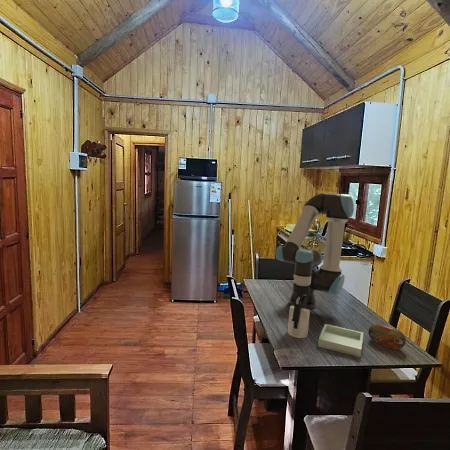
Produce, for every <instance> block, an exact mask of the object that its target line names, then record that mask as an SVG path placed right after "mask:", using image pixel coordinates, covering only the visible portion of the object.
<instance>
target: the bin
mask: <svg viewBox="0 0 450 450" xmlns="http://www.w3.org/2000/svg"><path fill="white" fill-rule="evenodd" d="M363 338H364V332H363V331H358V330H353V329H349V328H344V327H341V326H340V327H339V326H336V325H331V324H327V323H324V326H322V330H321V332H320V334H319V337H318V340H317V341H318V343H317V347H318V348H319V347H320V348H322V349H327V350H330V351H334V352H338V353H341V354H346V355H350V356H353V357H357V358H361V356H362V349H363V341H364V339H363Z"/></svg>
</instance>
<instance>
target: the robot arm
mask: <svg viewBox="0 0 450 450" xmlns="http://www.w3.org/2000/svg"><path fill="white" fill-rule="evenodd" d="M354 204H355V203H354V199H353V197H352V196H351V195H350V194H346V193H345V194H344V193H329V192H328V193H327V192H321V193H317V194H316V195H315V194H314V195H313V196H311V198H309V199H308V200H307V201H306V202H305V203H304V204H303V207H302V208H301V214H300V216H299V218H298V220H297V222H296V223H295V225H294V227H293V229H292V230H291V232H290V234H289V237H288V238H287V240H286V242H285V244H284V245H278V246H277V247H276V249H275V258H276V259H277V260H278V261H281V262H283V263H284V262H285V263H289V264H294V272H293V275H292V277H293V284H292V285H293V287H292V293H291V294H290V297H289V301H288V303H289V305H290V306H294V312H293V319H292V321H293V330H292V334H294V335H299V324H300V321H299V319H300V313H301V308H304V309H308V310H312V309H315V308H316V307H317V299H316V295H315V291H319V292H322V293H326V294H328V295H334V296H335V295H336V296H337V295H338V294H340V292H341V291H342V289H343V286H344V283H345V274H343V273H342V271H343V270H342V269H341V267H340V263H341V256H342V255H341V254H342V247H343V241H344V234H345V227H346V225H345V224H346V223H348V221H349V218H352V216H353V215H354V207H355V205H354ZM320 215H325V218H326V220H327V227H326V228H327V230H326V237H325V244H324V245H325V246H324V252H323V254H322V253H321V251H319V250H315V249H313V250H310V249H306V248H305V249H304V248H301V247H302V245H303V243H304V241H305V239H306V237H307V235H308V233H309V231H310V229H311V227H312V226H313V224H314V221H315V220H316V219H317V218H318V217H320ZM321 264H322V265H321ZM318 266H319V268H317V267H318Z"/></svg>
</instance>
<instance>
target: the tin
mask: <svg viewBox="0 0 450 450" xmlns="http://www.w3.org/2000/svg"><path fill="white" fill-rule="evenodd" d="M367 334H368V337H369V338H370V340H371V341H372V342H374V343H375V344H378V345H380V346H384V347H387V348H389V349H392V350H395V351H399V350H401V349H403V348H404V346H405V345H406V344H407V343H406V342H407V340H406V337H405V334H404V333H403V332H402V331H400V330H399V329H395V328H392V327H389V326H387V325H383V324H380V323H375V324H372V325H371V326H370V327H369V328H368V333H367Z"/></svg>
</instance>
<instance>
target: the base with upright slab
mask: <svg viewBox="0 0 450 450" xmlns="http://www.w3.org/2000/svg"><path fill="white" fill-rule="evenodd" d="M293 312H294V306H292V305H290V306H289V313H288V322H287V324H288V325H287V334H288V335H289V336H291V337H293V338H297V339H305V338H307V337H308V333H309V324H310V312H311V309H304V308H301V313H300V319H299V321H300V324H299V335H294V334H292V330H293V321H292V319H293Z"/></svg>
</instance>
